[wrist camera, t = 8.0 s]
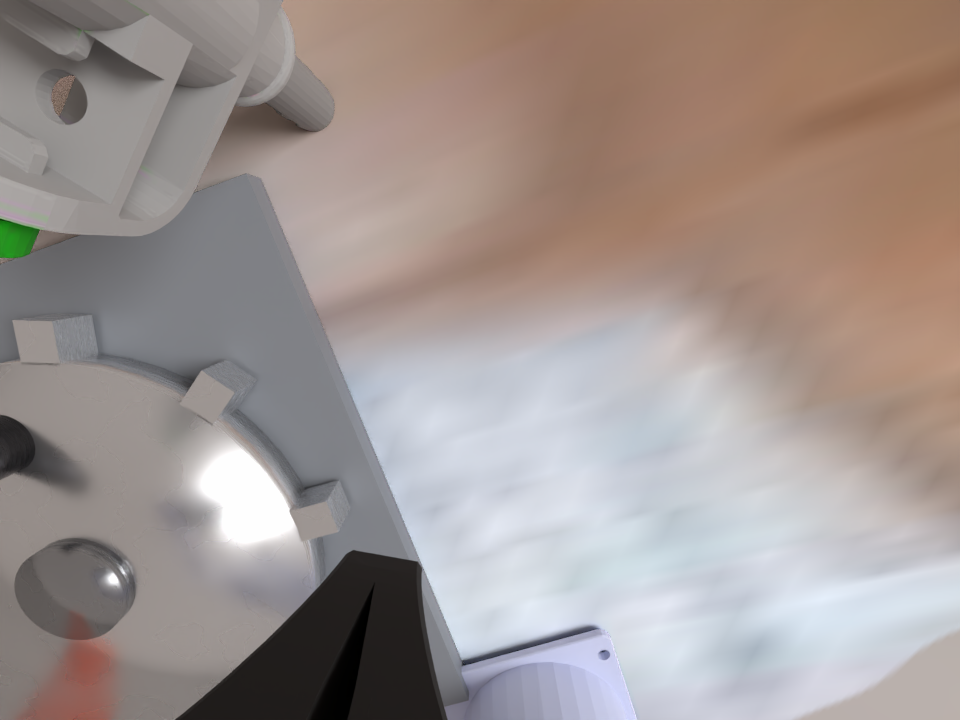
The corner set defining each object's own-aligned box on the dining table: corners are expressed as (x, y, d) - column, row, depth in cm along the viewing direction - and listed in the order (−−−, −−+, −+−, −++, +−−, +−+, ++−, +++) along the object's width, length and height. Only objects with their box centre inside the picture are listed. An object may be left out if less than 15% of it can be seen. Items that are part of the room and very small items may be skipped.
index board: (469, 678, 21) (468, 713, 19) (-3, 807, 22) (-39, 849, 21) (260, 178, 16) (236, 170, 14) (-322, 392, 18) (-400, 406, 16)
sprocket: (420, 684, 19) (404, 805, 15) (17, 780, 20) (-103, 918, 16) (249, 253, 15) (161, 254, 11) (-241, 405, 16) (-489, 459, 12)
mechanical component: (203, 217, 16) (-223, 168, 6) (345, -81, 14) (42, -828, 4) (280, 264, 16) (-10, 285, 7) (430, -20, 14) (326, -583, 5)
